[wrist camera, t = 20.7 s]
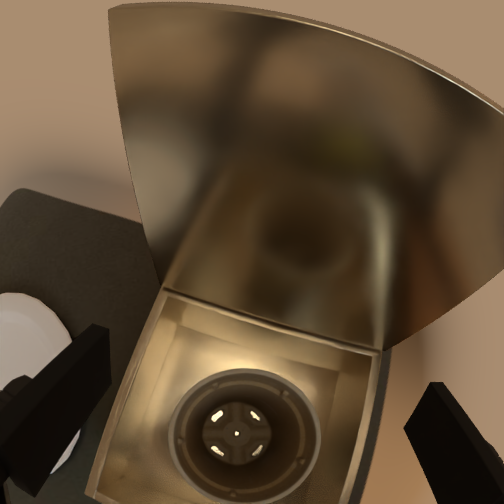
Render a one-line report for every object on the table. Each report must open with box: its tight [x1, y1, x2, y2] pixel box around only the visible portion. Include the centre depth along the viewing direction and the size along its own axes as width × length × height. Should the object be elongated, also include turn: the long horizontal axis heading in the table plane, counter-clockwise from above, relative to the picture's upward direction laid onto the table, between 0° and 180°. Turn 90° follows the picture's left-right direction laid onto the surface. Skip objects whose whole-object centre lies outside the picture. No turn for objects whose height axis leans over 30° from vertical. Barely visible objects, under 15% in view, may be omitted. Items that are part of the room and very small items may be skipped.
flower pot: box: [168, 368, 321, 504], centre depth 19 cm, size 9×9×9 cm
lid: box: [108, 2, 504, 351], centre depth 15 cm, size 18×18×5 cm
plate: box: [0, 293, 81, 474], centre depth 21 cm, size 21×21×2 cm
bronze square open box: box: [85, 286, 382, 504], centre depth 20 cm, size 18×18×8 cm
